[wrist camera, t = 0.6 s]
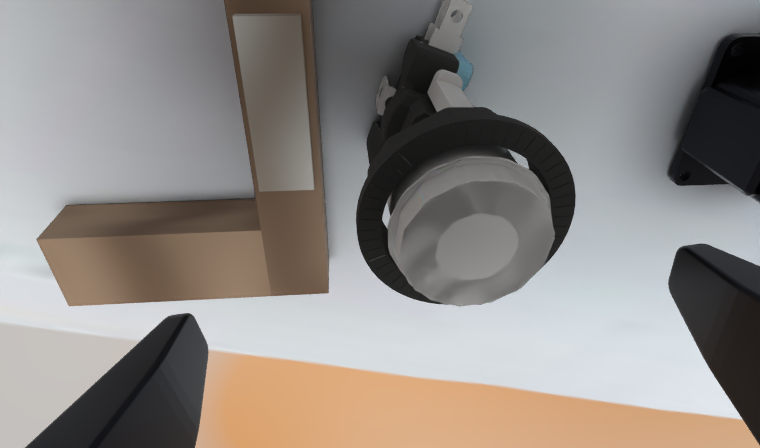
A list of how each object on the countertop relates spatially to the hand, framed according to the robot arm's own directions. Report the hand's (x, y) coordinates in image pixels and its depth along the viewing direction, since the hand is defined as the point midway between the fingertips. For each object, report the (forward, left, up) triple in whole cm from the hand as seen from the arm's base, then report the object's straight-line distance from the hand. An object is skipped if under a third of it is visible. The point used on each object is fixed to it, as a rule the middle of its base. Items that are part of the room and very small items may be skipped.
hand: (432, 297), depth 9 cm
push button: (-2, 0, -12) cm, 12 cm away
